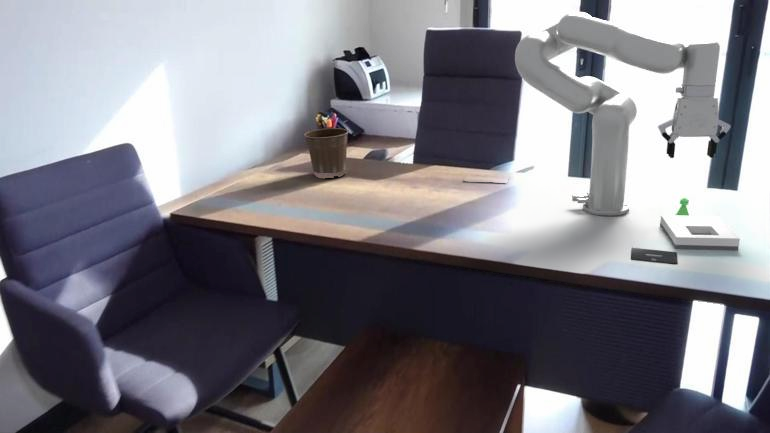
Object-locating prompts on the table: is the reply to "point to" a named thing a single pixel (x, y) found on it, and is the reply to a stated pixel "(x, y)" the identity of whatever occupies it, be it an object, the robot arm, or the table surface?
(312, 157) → the plant pot
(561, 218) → the table surface
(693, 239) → the white square slotted base
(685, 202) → the game piece
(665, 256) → the solid state drive
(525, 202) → the table surface
